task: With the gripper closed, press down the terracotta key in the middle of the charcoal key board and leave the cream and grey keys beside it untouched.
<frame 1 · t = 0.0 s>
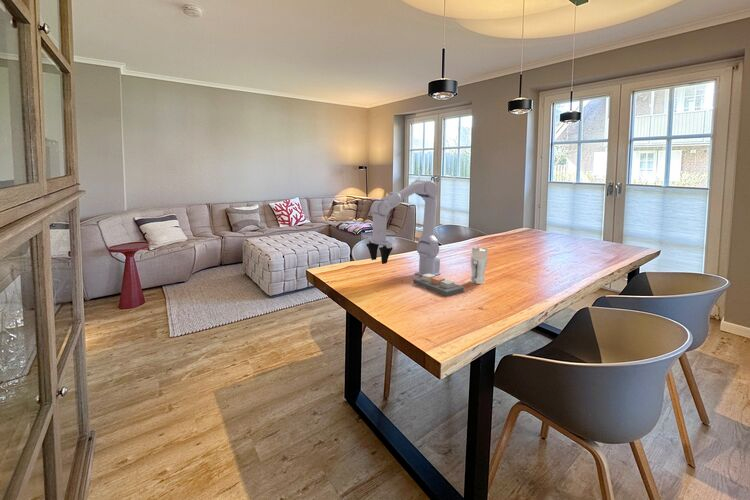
hand: (378, 261, 158), 10 cm above the table, tool pointing down, fingers open, 7 cm apart
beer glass: (477, 282, 166), on the table
key board: (437, 287, 157), on the table
cream key: (428, 278, 161), point 3 cm above the table, slide at 0.0 cm
terracotta key: (437, 281, 157), point 3 cm above the table, slide at 0.0 cm
grey key: (447, 284, 152), point 3 cm above the table, slide at 0.0 cm
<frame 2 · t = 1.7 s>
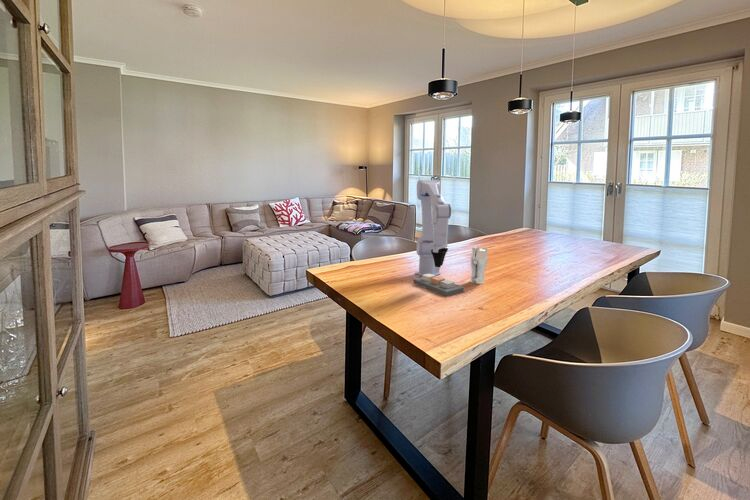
hand: (438, 266, 155), 9 cm above the table, tool pointing down, fingers open, 3 cm apart
nothing on the table moved.
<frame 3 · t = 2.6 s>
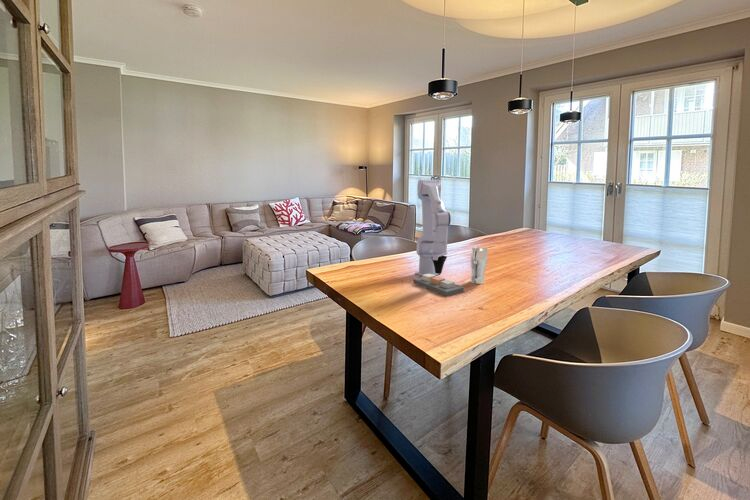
hand: (438, 273, 156), 6 cm above the table, tool pointing down, fingers closed
nothing on the table moved.
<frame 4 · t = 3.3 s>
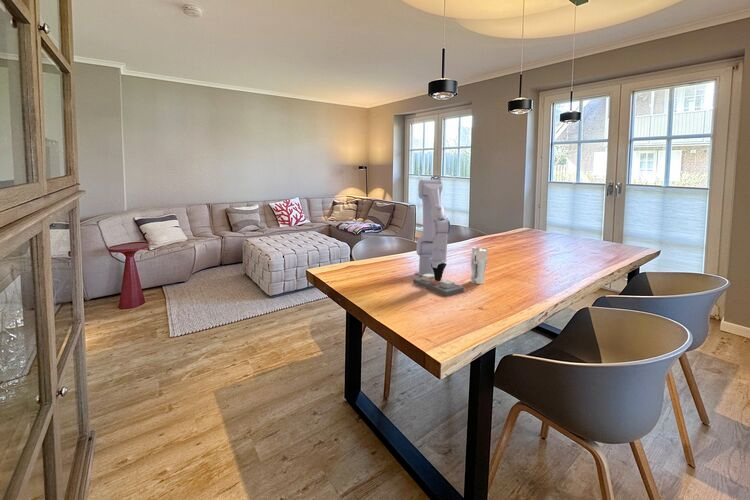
hand: (438, 280, 157), 3 cm above the table, tool pointing down, fingers closed, pressing on terracotta key
terracotta key: (437, 283, 157), point 2 cm above the table, slide at 0.8 cm, touching gripper
everything else where it was.
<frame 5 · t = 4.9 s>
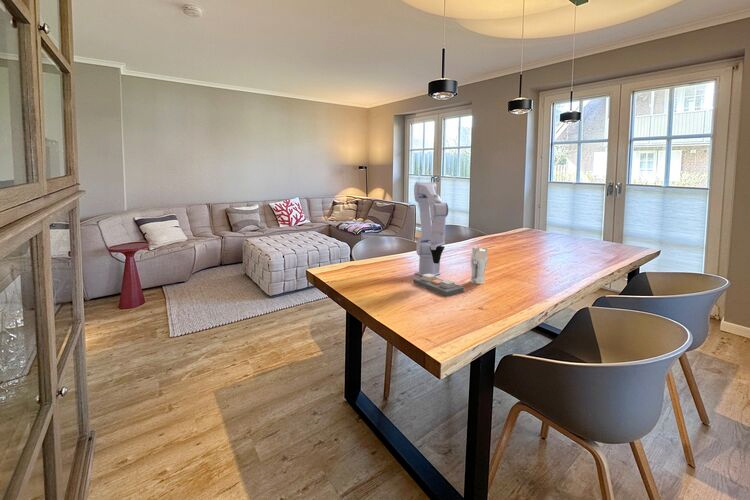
hand: (436, 263, 160), 9 cm above the table, tool pointing down, fingers closed
terracotta key: (437, 284, 157), point 2 cm above the table, slide at 1.2 cm
everything else where it was.
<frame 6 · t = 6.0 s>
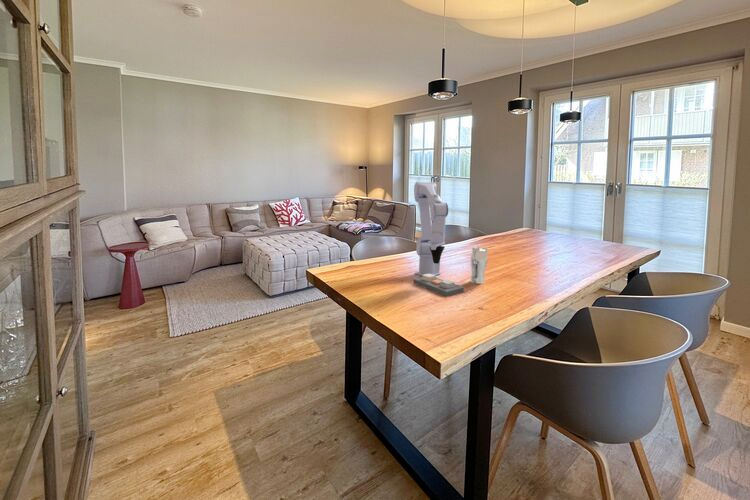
hand: (436, 263, 160), 9 cm above the table, tool pointing down, fingers closed
nothing on the table moved.
at the end: terracotta key slide at 1.2 cm; cream key slide at 0.0 cm; grey key slide at 0.0 cm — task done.
